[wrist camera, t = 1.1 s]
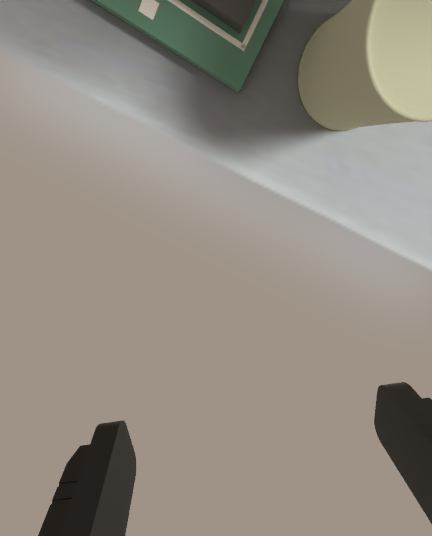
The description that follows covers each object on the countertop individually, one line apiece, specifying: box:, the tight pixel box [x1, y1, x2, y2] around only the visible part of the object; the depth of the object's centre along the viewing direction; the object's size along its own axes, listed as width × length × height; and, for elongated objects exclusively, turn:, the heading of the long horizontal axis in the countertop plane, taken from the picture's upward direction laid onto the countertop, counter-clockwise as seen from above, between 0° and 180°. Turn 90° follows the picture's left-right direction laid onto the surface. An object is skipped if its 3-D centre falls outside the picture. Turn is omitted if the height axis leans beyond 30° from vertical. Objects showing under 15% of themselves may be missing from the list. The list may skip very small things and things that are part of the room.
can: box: [298, 0, 432, 131], centre depth 22 cm, size 9×9×12 cm
